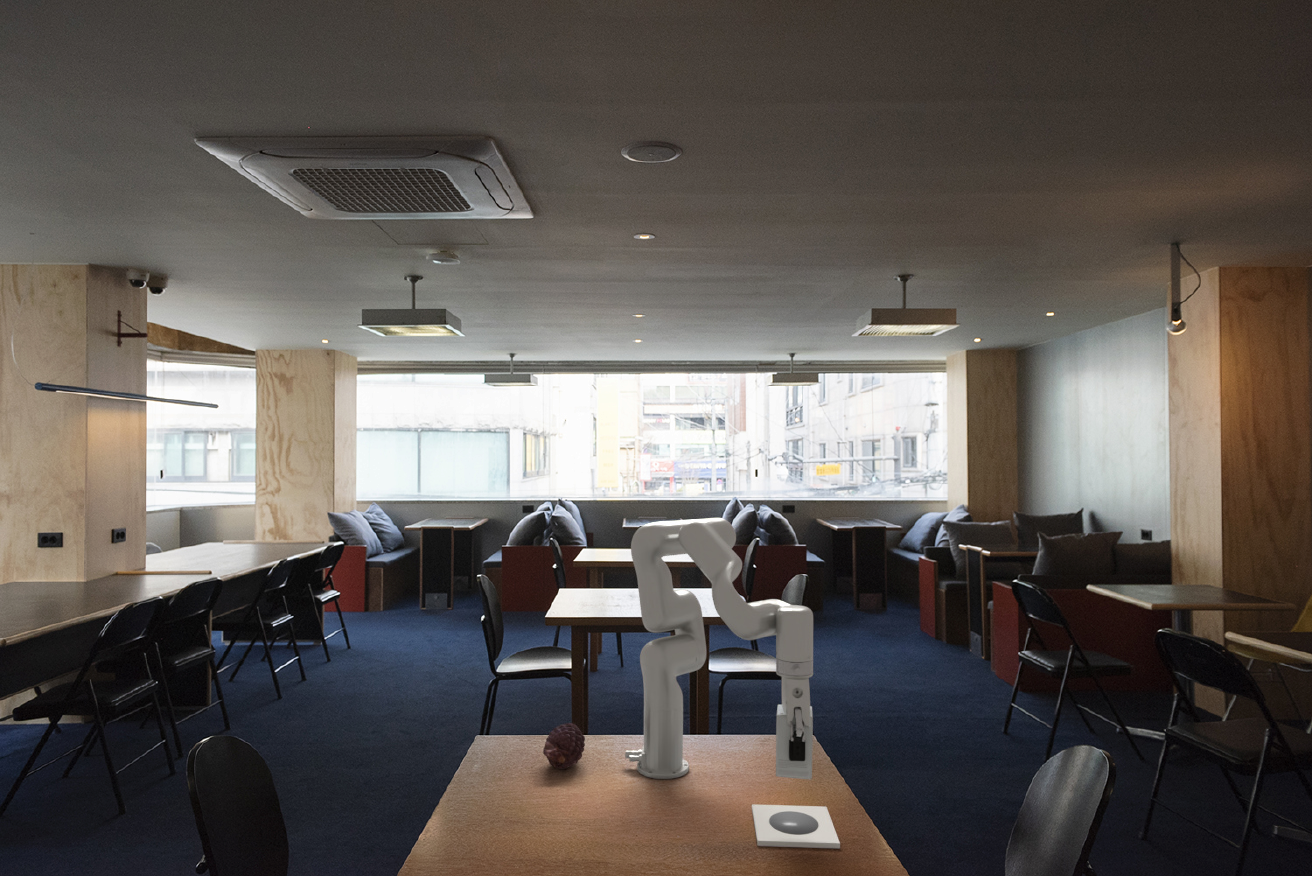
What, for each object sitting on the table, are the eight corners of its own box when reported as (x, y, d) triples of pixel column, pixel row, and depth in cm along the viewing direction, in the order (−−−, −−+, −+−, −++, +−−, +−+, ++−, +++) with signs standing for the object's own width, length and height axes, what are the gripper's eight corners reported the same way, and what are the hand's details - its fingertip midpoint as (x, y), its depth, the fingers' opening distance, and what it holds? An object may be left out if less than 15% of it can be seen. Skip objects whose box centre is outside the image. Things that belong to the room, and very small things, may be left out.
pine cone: (556, 750, 205) (556, 711, 205) (593, 753, 203) (594, 713, 203) (534, 778, 187) (535, 735, 187) (575, 781, 186) (575, 738, 186)
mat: (757, 846, 156) (757, 840, 156) (751, 809, 172) (751, 804, 172) (839, 848, 155) (839, 843, 155) (826, 811, 171) (826, 806, 171)
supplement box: (812, 780, 159) (812, 717, 160) (775, 777, 161) (775, 714, 161) (812, 766, 167) (812, 705, 167) (776, 763, 168) (777, 703, 168)
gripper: (819, 679, 155) (819, 770, 155) (806, 656, 173) (806, 738, 172) (780, 678, 156) (780, 769, 155) (772, 655, 173) (771, 737, 173)
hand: (794, 752), depth 164 cm, fingers closed on supplement box, 7 cm apart
